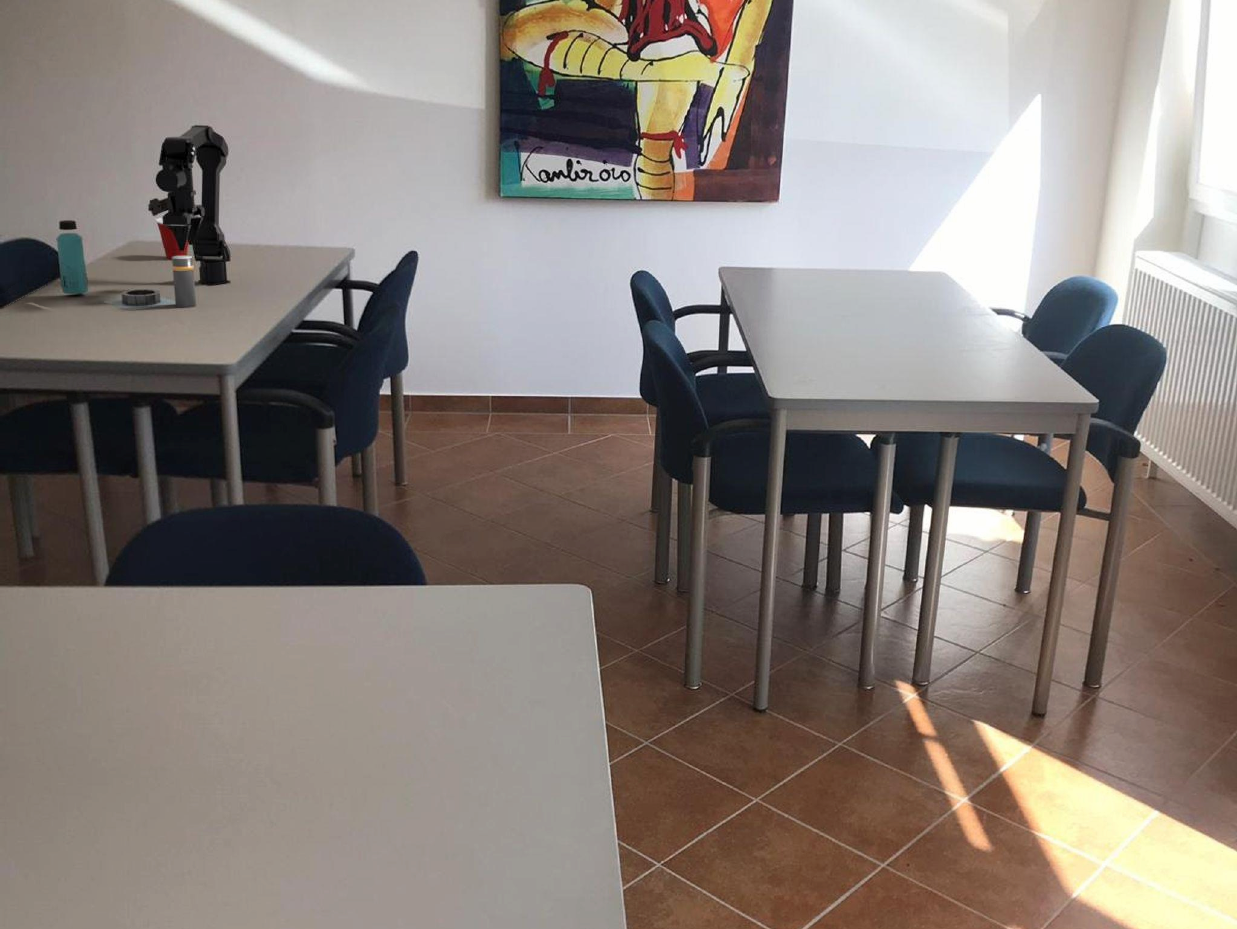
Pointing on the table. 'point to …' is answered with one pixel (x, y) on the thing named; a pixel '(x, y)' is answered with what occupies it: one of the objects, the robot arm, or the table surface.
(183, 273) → the gray canister
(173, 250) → the plastic cup
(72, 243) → the beverage bottle
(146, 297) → the barrel ring
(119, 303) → the blue-gray square plate
